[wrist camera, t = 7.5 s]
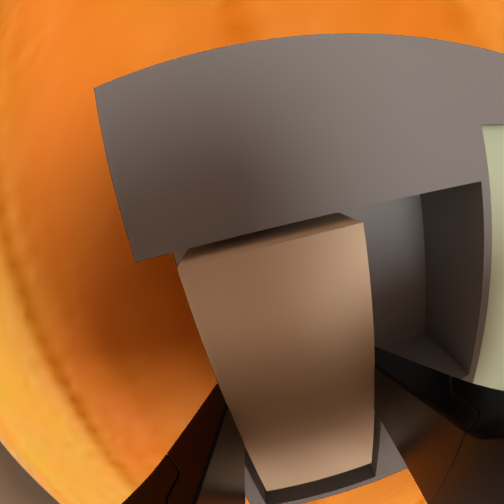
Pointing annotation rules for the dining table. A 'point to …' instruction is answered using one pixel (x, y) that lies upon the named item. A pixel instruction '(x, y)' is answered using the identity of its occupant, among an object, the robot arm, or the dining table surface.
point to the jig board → (333, 183)
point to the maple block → (291, 343)
